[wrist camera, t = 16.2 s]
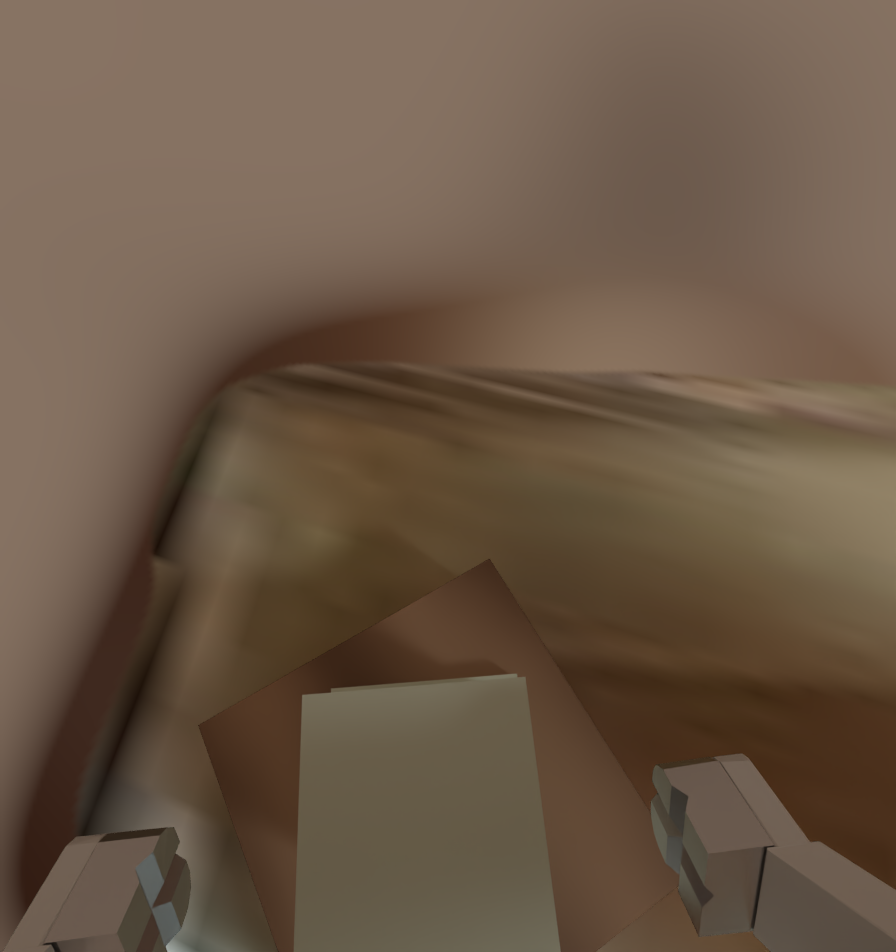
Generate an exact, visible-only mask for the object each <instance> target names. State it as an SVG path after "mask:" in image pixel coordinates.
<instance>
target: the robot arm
mask: <svg viewBox="0 0 896 952" xmlns="http://www.w3.org/2000/svg"><path fill="white" fill-rule="evenodd" d="M652 782H653V784H654V786H655V788H656V790H657V792H658V793H657V794H656V795H655V797H654V798H653V799H652V800H651V819H652V825H653V830H654V835H655V838H656V841H657V844H658V847H659V849H660V852H661V854H662V856H663V858H664V861H665V863H666V864H667V865H668V866H669V867H671V868H672V869H673V870H674V871H676V872H677V873H678V874H679V875H680V876H679V889H678V892H679V894H680V896H681V899H682V901H683V903H684V905H685V907H686V910H687V912H688V914H689V916H690V918H691V920H692V923H693V925H694V927H695V929H696V931H697V934H698V936H699V937H702V936H711V935H720V934H730V933H739V932H748V931H754V932H753V935H754V936H755V937H756V938H757V939H758V940H760V941H761V942H762V943H763V944H764V945H765V946H766V947H767V948H768V949H769V950H770V951H771V952H896V890H895V889H893V888H892V887H890V886H889V885H887V884H886V883H884V882H882V881H881V880H879V879H878V878H876V877H875V876H873V875H871V874H870V873H868V872H867V871H865V870H864V869H862V868H861V867H859V866H857V865H856V864H854V863H853V862H851V861H850V860H848V859H846V858H845V857H843V856H842V855H840V854H839V853H837V852H836V851H834V850H832V849H831V848H829V847H828V846H826V845H825V844H823V843H822V842H820V841H816V842H810V841H809V840H808V838H807V837H806V836H805V834H804V833H803V832H802V830H801V829H800V827H799V826H798V825H797V823H796V822H795V821H794V819H793V818H792V817H791V815H790V814H789V812H788V811H787V810H786V808H785V807H784V806H783V804H782V803H781V802H780V800H779V799H778V797H777V796H776V795H775V793H774V792H773V791H772V789H771V788H770V787H769V785H768V784H767V782H766V781H765V780H764V778H763V777H762V776H761V774H760V773H759V771H758V770H757V769H756V767H755V766H754V765H753V763H752V762H751V761H750V759H749V758H748V757H746V756H745V755H744V754H742V753H741V754H733V755H725V756H717V757H712V758H711V757H706V758H698V759H691V760H684V761H677V762H670V763H663V764H656V766H655V767H654V769H653V778H652ZM179 842H180V841H179V838H178V836H177V833H176V831H175V829H174V827H170V828H158V829H147V830H137V831H127V832H117V833H107V834H99V835H90V836H81V837H76V838H75V839H74V840H72V841H71V842H70V843H69V844H68V845H67V846H66V847H65V848H64V850H63V852H62V853H61V855H60V857H59V858H58V860H57V862H56V863H55V865H54V867H53V868H52V870H51V872H50V874H49V875H48V877H47V878H46V880H45V882H44V883H43V885H42V887H41V888H40V890H39V892H38V893H37V895H36V897H35V898H34V900H33V902H32V903H31V905H30V907H29V908H28V910H27V912H26V913H25V915H24V917H23V918H22V920H21V922H20V923H19V925H18V927H17V928H16V930H15V932H14V933H13V935H12V936H11V938H10V940H9V941H8V943H7V945H6V947H5V948H4V950H3V951H0V952H167V950H166V945H167V944H168V943H169V942H170V941H171V940H172V938H173V937H174V936H175V935H176V934H177V933H178V932H179V931H180V929H181V928H182V925H183V922H184V919H185V915H186V912H187V909H188V904H189V897H190V890H191V880H190V870H189V867H188V864H187V861H186V860H185V859H183V858H182V857H180V856H179V855H177V854H176V850H177V847H178V845H179Z"/></svg>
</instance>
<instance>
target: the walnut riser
mask: <svg viewBox="0 0 896 952" xmlns="http://www.w3.org/2000/svg"><path fill="white" fill-rule="evenodd" d="M505 674H517V677H525V678H526V685H527V693H528V701H529V709H530V717H531V724H532V732H533V740H534V748H535V756H536V763H537V771H538V779H539V787H540V794H541V802H542V810H543V818H544V826H545V833H546V841H547V849H548V857H549V865H550V872H551V880H552V888H553V896H554V903H555V911H556V919H557V927H558V935H559V942H560V950H561V952H596V951H597V950H598V949H600V948H601V947H602V946H603V945H605V944H606V943H607V942H608V941H610V940H611V939H612V938H613V937H615V936H616V935H617V934H619V933H620V932H621V931H622V930H624V929H625V928H626V927H627V926H629V925H630V924H631V923H632V922H634V921H635V920H636V919H637V918H639V917H640V916H641V915H642V914H644V913H645V912H646V911H648V910H649V909H650V908H651V907H653V906H654V905H655V904H656V903H658V902H659V901H660V900H661V899H663V898H664V897H665V896H666V895H668V894H669V893H670V892H672V891H673V890H674V889H675V888H677V887H678V886H679V876H680V875H679V874H678V873H677V872H676V871H674V870H673V869H672V868H671V867H669V866H668V865H667V864H666V863H665V861H664V858H663V856H662V854H661V852H660V849H659V847H658V844H657V841H656V838H655V835H654V830H653V825H652V819H651V813H650V811H649V810H648V808H647V806H646V805H645V803H644V802H643V800H642V799H641V797H640V795H639V794H638V792H637V791H636V789H635V787H634V786H633V784H632V783H631V781H630V780H629V778H628V776H627V775H626V773H625V772H624V770H623V769H622V767H621V765H620V764H619V762H618V761H617V759H616V757H615V756H614V754H613V753H612V751H611V750H610V748H609V746H608V745H607V743H606V742H605V740H604V739H603V737H602V735H601V734H600V732H599V731H598V729H597V728H596V726H595V724H594V723H593V721H592V720H591V718H590V716H589V715H588V713H587V712H586V710H585V709H584V707H583V705H582V704H581V702H580V701H579V699H578V698H577V696H576V694H575V693H574V691H573V690H572V688H571V686H570V685H569V683H568V682H567V680H566V679H565V677H564V675H563V674H562V672H561V671H560V669H559V668H558V666H557V664H556V663H555V661H554V660H553V658H552V656H551V655H550V653H549V652H548V650H547V649H546V647H545V645H544V644H543V642H542V641H541V639H540V638H539V636H538V634H537V633H536V631H535V630H534V628H533V627H532V625H531V623H530V622H529V620H528V619H527V617H526V615H525V614H524V612H523V611H522V609H521V608H520V606H519V604H518V603H517V601H516V600H515V598H514V597H513V595H512V593H511V592H510V590H509V589H508V587H507V585H506V584H505V582H504V581H503V579H502V578H501V576H500V574H499V573H498V571H497V570H496V568H495V567H494V565H493V563H492V562H491V560H490V559H488V560H486V561H485V562H483V563H481V564H479V565H478V566H476V567H474V568H472V569H471V570H469V571H467V572H465V573H464V574H462V575H460V576H458V577H457V578H455V579H453V580H451V581H450V582H448V583H446V584H444V585H443V586H441V587H439V588H437V589H436V590H434V591H432V592H430V593H429V594H427V595H425V596H424V597H422V598H420V599H418V600H417V601H415V602H413V603H411V604H410V605H408V606H406V607H404V608H403V609H401V610H399V611H397V612H396V613H394V614H392V615H390V616H389V617H387V618H385V619H383V620H382V621H380V622H378V623H376V624H375V625H373V626H371V627H369V628H368V629H366V630H364V631H362V632H361V633H359V634H357V635H355V636H354V637H352V638H350V639H348V640H347V641H345V642H343V643H341V644H340V645H338V646H336V647H334V648H333V649H331V650H329V651H327V652H326V653H324V654H322V655H320V656H319V657H317V658H315V659H313V660H312V661H310V662H308V663H306V664H305V665H303V666H301V667H299V668H298V669H296V670H294V671H292V672H291V673H289V674H287V675H285V676H284V677H282V678H280V679H278V680H277V681H275V682H273V683H271V684H270V685H268V686H266V687H264V688H263V689H261V690H259V691H257V692H256V693H254V694H252V695H250V696H249V697H247V698H245V699H244V700H242V701H240V702H238V703H237V704H235V705H233V706H231V707H230V708H228V709H226V710H224V711H223V712H221V713H219V714H217V715H216V716H214V717H212V718H210V719H209V720H207V721H205V722H203V723H202V724H200V725H198V726H199V729H200V731H201V734H202V737H203V740H204V743H205V746H206V748H207V751H208V754H209V757H210V760H211V763H212V765H213V768H214V771H215V774H216V777H217V780H218V782H219V785H220V788H221V791H222V794H223V797H224V799H225V802H226V805H227V808H228V811H229V814H230V816H231V819H232V822H233V825H234V828H235V831H236V833H237V836H238V839H239V842H240V845H241V848H242V850H243V853H244V856H245V859H246V862H247V865H248V867H249V870H250V873H251V876H252V879H253V882H254V884H255V887H256V890H257V893H258V896H259V899H260V901H261V904H262V907H263V910H264V913H265V916H266V918H267V921H268V924H269V927H270V930H271V933H272V935H273V938H274V941H275V944H276V947H277V950H278V952H294V926H295V896H296V867H297V837H298V807H299V777H300V747H301V717H302V695H308V694H320V693H331V689H332V688H345V687H357V686H369V685H382V684H394V683H406V682H419V681H431V680H443V679H456V678H468V677H480V676H493V675H505Z"/></svg>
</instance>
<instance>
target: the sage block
mask: <svg viewBox="0 0 896 952" xmlns="http://www.w3.org/2000/svg"><path fill="white" fill-rule="evenodd" d="M294 952H561V950H560V942H559V935H558V927H557V919H556V911H555V903H554V896H553V888H552V880H551V872H550V865H549V857H548V849H547V841H546V833H545V826H544V818H543V810H542V802H541V794H540V787H539V779H538V771H537V763H536V756H535V748H534V740H533V732H532V724H531V717H530V709H529V701H528V693H527V685H526V678H525V677H517V674H505V675H493V676H480V677H468V678H456V679H443V680H431V681H419V682H406V683H394V684H382V685H369V686H357V687H345V688H332V689H331V693H320V694H308V695H302V717H301V747H300V777H299V807H298V837H297V867H296V896H295V926H294Z"/></svg>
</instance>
